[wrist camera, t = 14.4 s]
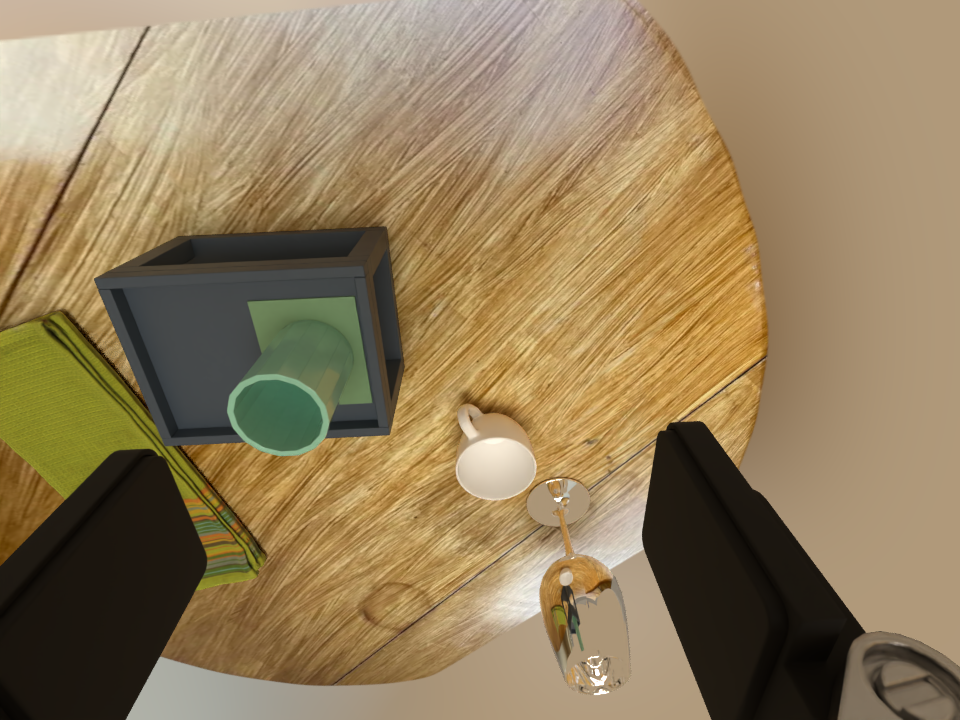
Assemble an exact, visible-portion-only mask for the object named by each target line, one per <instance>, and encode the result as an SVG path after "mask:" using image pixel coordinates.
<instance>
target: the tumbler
mask: <svg viewBox="0 0 960 720" xmlns="http://www.w3.org/2000/svg"><path fill="white" fill-rule="evenodd" d="M353 364H354V357H353V352H352V349H351V346H350V344H349V343H348V341H347V340H346V338H345V337H344V336H343V335H342V334H341V333H340V332H339V331H338V330H337V329H335V328H333V327H332V326H330V325H328V324H326V323H323V322H319V321H315V320H300V321H296V322H293V323H290V324H288V325H286V326H285V327H284V328H282V329H281V330H280V331H279V332H278V334H277V335H276V336H275V337H274V339H273V340H272V341H271V342H270V344H269V345H268V346H267V348H266V349H265V350H264V351H263V353H262V354H261V355H260V357H259V358H258V359H257V360H256V362H255V363H254V364H253V366H252V367H251V368H250V369H249V371H248V372H247V373H246V374H245V376H244V377H243V378H242V380H241V381H240V382H239V383H238V385H237V386H236V387H235V389H234V390H233V391H232V392H231V394H230V396H229V401H228V407H227V413H228V416H229V419H230V422H231V425H232V427H233V429H234V430H235V431H236V432H237V433H238V435H239V436H240V437H241V438H242V439H243V440H244V441H245V442H246V443H248V444H250V445H251V446H253V447H255V448H256V449H258V450H260V451H262V452H266V453H269V454H273V455H277V456H294V455H301V454H303V453H305V452H308V451H310V450H313V449H315V448H316V447H317V446H318V445H319V444H320V443H321V442H322V441H323V439H324V438H325V437H326V435H327V433H328V430H329V428H330V425H331V423H332V420H333V418H334V415H335V413H336V410H337V408H338V405H339V403H340V400H341V398H342V395H343V393H344V390H345V388H346V385H347V383H348V380H349V378H350V374H351V371H352V369H353Z"/></svg>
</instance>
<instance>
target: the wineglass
mask: <svg viewBox="0 0 960 720" xmlns="http://www.w3.org/2000/svg"><path fill="white" fill-rule="evenodd" d="M589 506H590V494H589V492H588V490H587V489H586V487H585V486H584V485H583V484H581V483H580V482H578V481H576V480H573V479H569V478H554V479H550V480H546V481H544V482H542V483H540V484H539V485H537V486H536V487H535V488H534V489H533V490H532V491H531V492H530V494H529V495H528V498H527V502H526V507H527V511H528V513H529V515H530V516H531V517H532V518H533V519H534V520H535V521H537V522H538V523H540V524H543V525H546V526H561V531H562V535H563V540H564V545H565V552H566V556H564V557H562V558H560V559H559V560H557V561H555V562H554V563H553V564H552V565H551V566H550V567H549V568H548V570H547V571H546V573H545V574H544V576H543V578H542V581H541V585H540V591H539V600H540V608H541V612H542V617H543V621H544V625H545V628H546V632H547V634H548V637H549V640H550V643H551V646H552V649H553V651H554V654H555V657H556V659H557V662H558V664H559V667H560V669H561V672H562V674H563V677H564V679H565V682H566V683H567V685H568V686H569V687H570V688H571V689H572V690H574V691H576V692H578V693H582V694H588V695H598V694H605V693H609V692H612V691H614V690H617V689H618V688H620V687H622V686H623V685H624V684H625V683H626V682H627V681H628V680H629V678H630V676H631V663H630V648H629V636H628V627H627V618H626V610H625V605H624V600H623V596H622V592H621V590H620V587H619V585H618V582H617V580H616V578H615V576H614V575H613V574H612V572H611V571H610V570H609V569H608V567H607V566H605V565H604V564H603V563H601V562H600V561H598V560H597V559H595V558H593V557H590V556H587V555H581V554H575V553H574V551H573V548H572V545H571V541H570V537H569V533H568V529H567V525H568V524H571V523H573V522H575V521H577V520H579V519H580V518H581V517H582V516H583V515H584V514H585V513H586V512H587V510H588V508H589Z"/></svg>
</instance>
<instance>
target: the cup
mask: <svg viewBox="0 0 960 720" xmlns="http://www.w3.org/2000/svg"><path fill="white" fill-rule="evenodd" d="M469 415H470V416H471V417H472V418H473V421H472V422H471V421H470V418H469ZM457 416H458V421H459V425H460V427H461V429H462V430H463V434H462V436H461V438H460V441H459V444H458V448H457V453H456V476H457V479H458V481H459V483H460V485H461V486H462V487H463V488H464V489H465V490H466V491H467V492H469V493H470V494H472V495H474V496H476V497H478V498H482V499H486V500H503V499H508V498H511V497H514V496H516V495H518V494H520V493H521V492H523V491H524V490H525V489H526V488H527V487H528V486H529V485H530V484H531V483H532V481H533V479H534V477H535V474H536V460H535V455H534V451H533V447H532V444H531V441H530V439H529V437H528V435H527V434H526V432H525V431H524V429H523V428H522V427H521V426H520V425H519V424H518V423H517V422H516V421H515V420H513V419H512V418H510V417H508V416H506V415H504V414H500V413H487V414H483V413H482V412H481V411H480V410H479V409H478V408H477V407H476V406H474V405H472V404H464V405H462V406H461V407H459V408H458V411H457Z"/></svg>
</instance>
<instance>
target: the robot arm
mask: <svg viewBox="0 0 960 720" xmlns="http://www.w3.org/2000/svg"><path fill="white" fill-rule="evenodd" d="M642 541H643V546H644V550H645V553H646V555H647V558H648V561H649V563H650V566H651V568H652V571H653V573H654V576H655V578H656V581H657V583H658V586H659V588H660V591H661V593H662V596H663V598H664V601H665V604H666V606H667V609H668V611H669V614H670V616H671V619H672V621H673V624H674V626H675V628H676V631H677V634H678V636H679V639H680V641H681V644H682V646H683V649H684V652H685V654H686V657H687V659H688V662H689V664H690V667H691V669H692V672H693V674H694V677H695V679H696V681H697V684H698V687H699V689H700V692H701V694H702V697H703V699H704V702H705V705H706V707H707V710H708V712H709V715H710V717H711V719H712V720H960V667H959V666H958V665H956V664H955V663H954V662H953V661H951V660H950V659H949V658H947V657H946V656H945V655H943V654H942V653H940V652H938V651H936V650H935V649H933V648H931V647H929V646H927V645H926V644H924V643H922V642H920V641H917V640H915V639H912V638H909V637H906V636H903V635H901V634H896V633H889V632H882V631H878V632H871V633H866V632H865V631H864V630H863V628H862V627H861V625H860V624H859V623H858V621H857V620H856V619H855V618H854V616H853V615H852V613H851V612H850V611H849V609H848V608H847V607H846V605H845V604H844V603H843V601H842V600H841V599H840V597H839V596H838V595H837V593H836V592H835V591H834V589H833V588H832V587H831V585H830V584H829V583H828V581H827V580H826V579H825V577H824V576H823V575H822V573H821V572H820V571H819V569H818V568H817V567H816V565H815V564H814V563H813V561H812V560H811V559H810V557H809V556H808V555H807V553H806V552H805V550H804V549H803V548H802V546H801V545H800V544H799V543H798V541H797V540H796V538H795V537H794V536H793V534H792V533H791V532H790V530H789V529H788V528H787V526H786V525H785V524H784V522H783V521H782V520H781V518H780V517H779V516H778V514H777V513H776V512H775V510H774V509H773V508H772V506H771V505H770V504H769V502H768V501H767V500H766V498H764V496H763V495H762V494H761V493H759V492H758V491H756V490H753V489H752V488H751V487H750V485H749V484H748V483H747V481H746V480H745V478H744V477H743V475H742V474H741V473H740V471H739V470H738V469H737V467H736V466H735V464H734V463H733V462H732V460H731V459H730V458H729V456H728V455H727V454H726V452H725V451H724V449H723V448H722V447H721V445H720V444H719V443H718V441H717V440H716V438H715V437H714V436H713V434H712V433H711V432H710V430H709V429H708V428H707V426H706V425H705V424H704V423H703V422H701V421H693V422H673V423H670V424H669V425H668V426H667V429H666V431H660V432H659V433H658V436H657V441H656V448H655V454H654V460H653V467H652V473H651V479H650V485H649V492H648V498H647V504H646V511H645V517H644V523H643V529H642ZM206 567H207V554H206V551H205V549H204V547H203V544H202V542H201V540H200V537H199V535H198V533H197V530H196V528H195V526H194V523H193V521H192V519H191V516H190V514H189V512H188V510H187V507H186V505H185V503H184V500H183V498H182V496H181V493H180V491H179V489H178V486H177V484H176V482H175V479H174V477H173V475H172V472H171V470H170V468H169V465H168V463H167V461H166V459H165V458H164V457H162V456H158V454H157V453H156V452H155V451H154V450H153V449H129V450H118V451H114V452H113V453H112V454H110V455H109V456H108V457H107V458H106V459H105V460H104V461H103V462H102V463H101V464H100V465H99V466H98V467H97V468H96V469H95V470H94V471H93V472H92V473H91V474H90V475H89V476H88V477H87V478H86V479H85V481H84V482H83V483H82V484H81V485H80V486H79V487H78V488H77V489H76V490H75V491H74V492H73V493H72V494H71V495H70V496H69V497H68V498H67V499H66V500H65V501H64V502H63V503H62V504H61V505H60V506H59V507H58V508H57V509H56V510H55V511H54V512H53V513H52V514H51V515H50V516H49V517H48V518H47V519H46V520H45V521H44V522H43V523H42V524H41V525H40V526H39V527H38V528H37V529H36V530H35V531H34V532H33V533H32V534H31V536H30V537H29V538H28V539H27V540H26V541H25V542H24V543H23V544H22V545H21V546H20V547H19V548H18V549H17V550H16V551H15V552H14V553H13V554H12V555H11V556H10V557H9V558H8V559H7V560H6V561H5V562H4V563H3V564H2V565H1V566H0V720H126V718H127V716H128V714H129V712H130V711H131V709H132V707H133V705H134V703H135V701H136V700H137V698H138V696H139V694H140V692H141V690H142V688H143V686H144V685H145V683H146V681H147V679H148V677H149V675H150V674H151V672H152V670H153V668H154V666H155V664H156V663H157V661H158V659H159V657H160V655H161V653H162V651H163V650H164V648H165V646H166V644H167V642H168V640H169V639H170V637H171V635H172V633H173V631H174V629H175V627H176V626H177V624H178V622H179V620H180V618H181V616H182V614H183V613H184V611H185V609H186V607H187V605H188V603H189V602H190V600H191V598H192V596H193V594H194V592H195V590H196V589H197V587H198V585H199V583H200V581H201V579H202V577H203V576H204V573H205V571H206Z"/></svg>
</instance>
